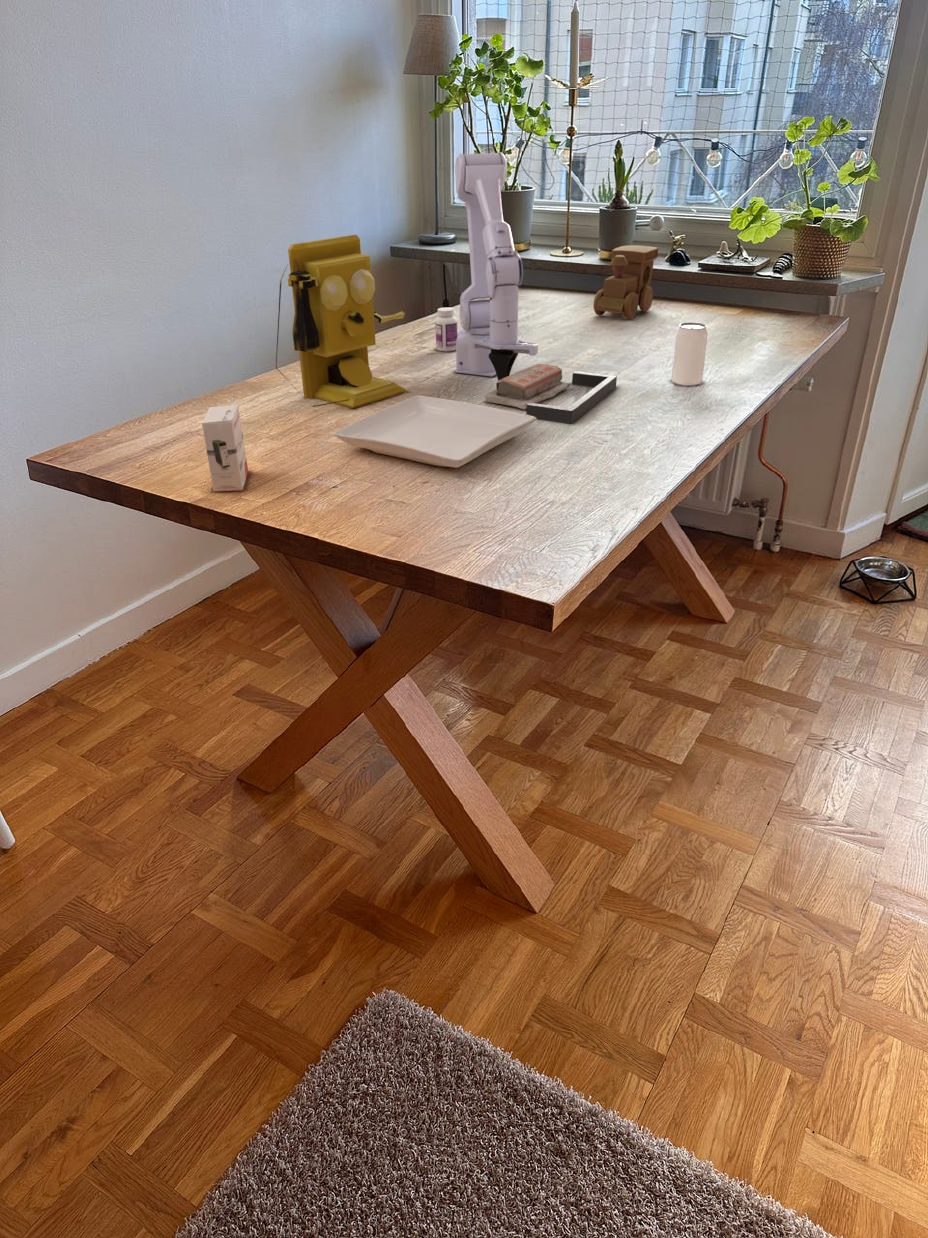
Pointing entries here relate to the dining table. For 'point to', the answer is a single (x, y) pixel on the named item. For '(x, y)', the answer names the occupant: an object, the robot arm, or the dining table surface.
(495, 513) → the dining table surface
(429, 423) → the square plate
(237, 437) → the ink box
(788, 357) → the dining table surface
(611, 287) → the wooden toy train
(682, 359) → the can
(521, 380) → the packaged product
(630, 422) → the dining table surface
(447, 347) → the pill bottle
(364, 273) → the vintage telephone
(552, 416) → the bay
